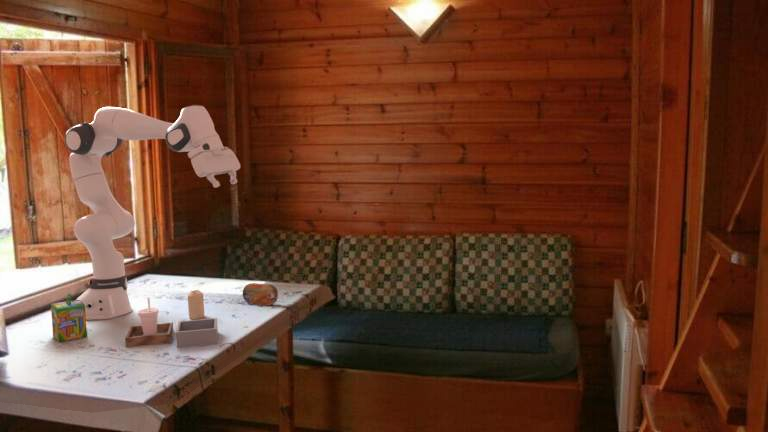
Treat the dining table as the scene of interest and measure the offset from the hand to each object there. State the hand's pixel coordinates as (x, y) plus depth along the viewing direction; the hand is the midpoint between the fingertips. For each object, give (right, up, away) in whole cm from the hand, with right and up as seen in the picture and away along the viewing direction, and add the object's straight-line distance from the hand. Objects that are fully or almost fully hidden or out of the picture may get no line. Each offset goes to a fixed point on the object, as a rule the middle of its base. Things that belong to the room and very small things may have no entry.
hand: (226, 185), depth 227 cm
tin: (+6, -46, +33) cm, 57 cm away
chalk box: (-52, -52, -3) cm, 74 cm away
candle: (-15, -48, +17) cm, 53 cm away
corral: (-23, -52, -8) cm, 57 cm away
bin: (-7, -51, -10) cm, 53 cm away
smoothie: (-23, -52, -8) cm, 57 cm away
